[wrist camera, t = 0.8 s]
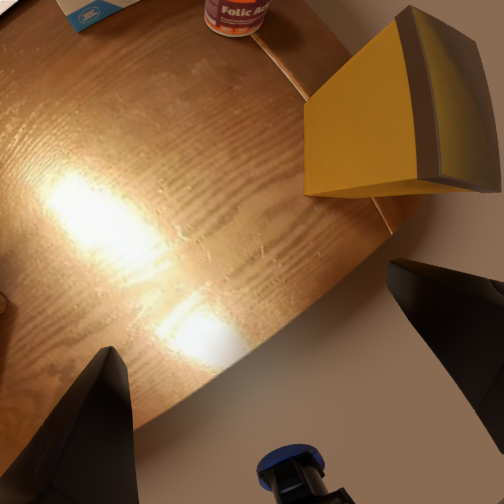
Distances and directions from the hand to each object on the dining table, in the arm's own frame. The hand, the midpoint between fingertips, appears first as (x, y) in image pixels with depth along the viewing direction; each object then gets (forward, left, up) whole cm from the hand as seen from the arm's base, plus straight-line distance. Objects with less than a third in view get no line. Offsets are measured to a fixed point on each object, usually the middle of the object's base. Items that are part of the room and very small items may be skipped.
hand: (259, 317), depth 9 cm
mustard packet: (+4, -10, -12) cm, 16 cm away
